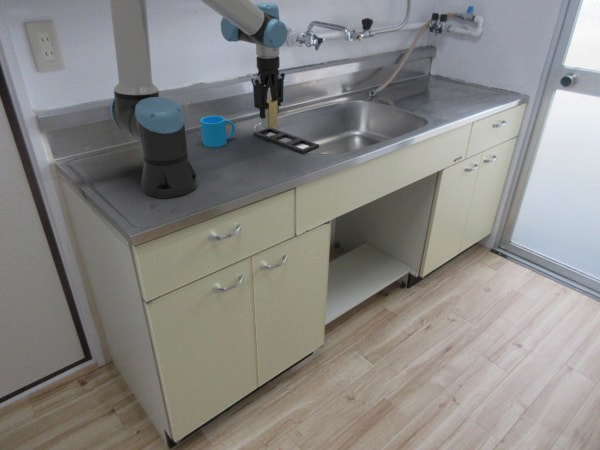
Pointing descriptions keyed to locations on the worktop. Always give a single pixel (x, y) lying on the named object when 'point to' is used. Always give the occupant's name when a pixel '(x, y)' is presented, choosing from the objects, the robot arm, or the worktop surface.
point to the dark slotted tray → (288, 145)
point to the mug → (215, 131)
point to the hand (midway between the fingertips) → (269, 125)
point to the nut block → (272, 113)
